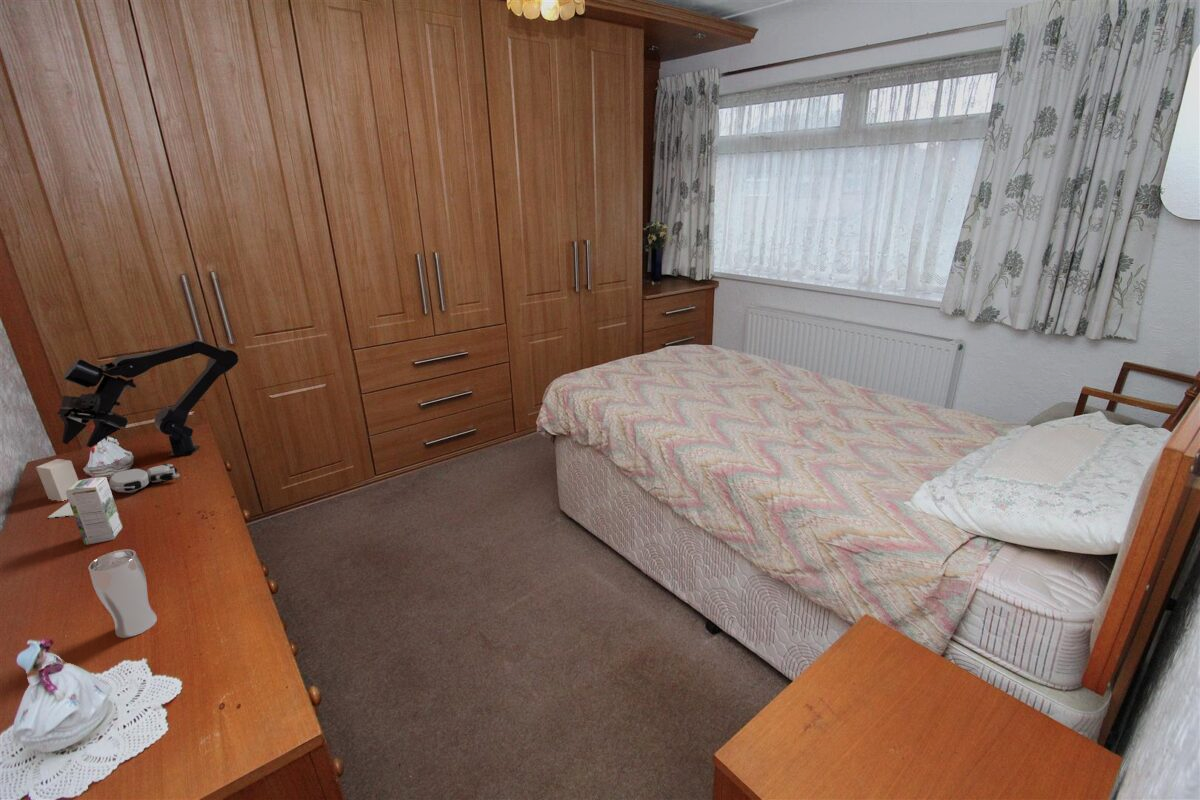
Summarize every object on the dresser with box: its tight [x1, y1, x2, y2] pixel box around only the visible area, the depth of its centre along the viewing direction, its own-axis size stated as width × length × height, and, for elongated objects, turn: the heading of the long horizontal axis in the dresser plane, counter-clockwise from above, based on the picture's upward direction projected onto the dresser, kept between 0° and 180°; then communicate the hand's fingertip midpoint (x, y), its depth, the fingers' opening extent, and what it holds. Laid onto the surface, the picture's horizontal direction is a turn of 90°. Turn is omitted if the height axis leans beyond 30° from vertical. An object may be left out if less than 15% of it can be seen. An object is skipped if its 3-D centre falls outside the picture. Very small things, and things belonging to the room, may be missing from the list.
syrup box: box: [66, 476, 124, 546], centre depth 128 cm, size 6×6×14 cm
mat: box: [47, 501, 74, 519], centre depth 142 cm, size 8×8×1 cm
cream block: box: [35, 458, 79, 502], centre depth 147 cm, size 5×5×10 cm
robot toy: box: [108, 463, 181, 494], centre depth 154 cm, size 12×4×15 cm
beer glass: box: [87, 548, 158, 639], centre depth 99 cm, size 7×7×15 cm
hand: (76, 445), depth 150 cm, fingers open, 9 cm apart
